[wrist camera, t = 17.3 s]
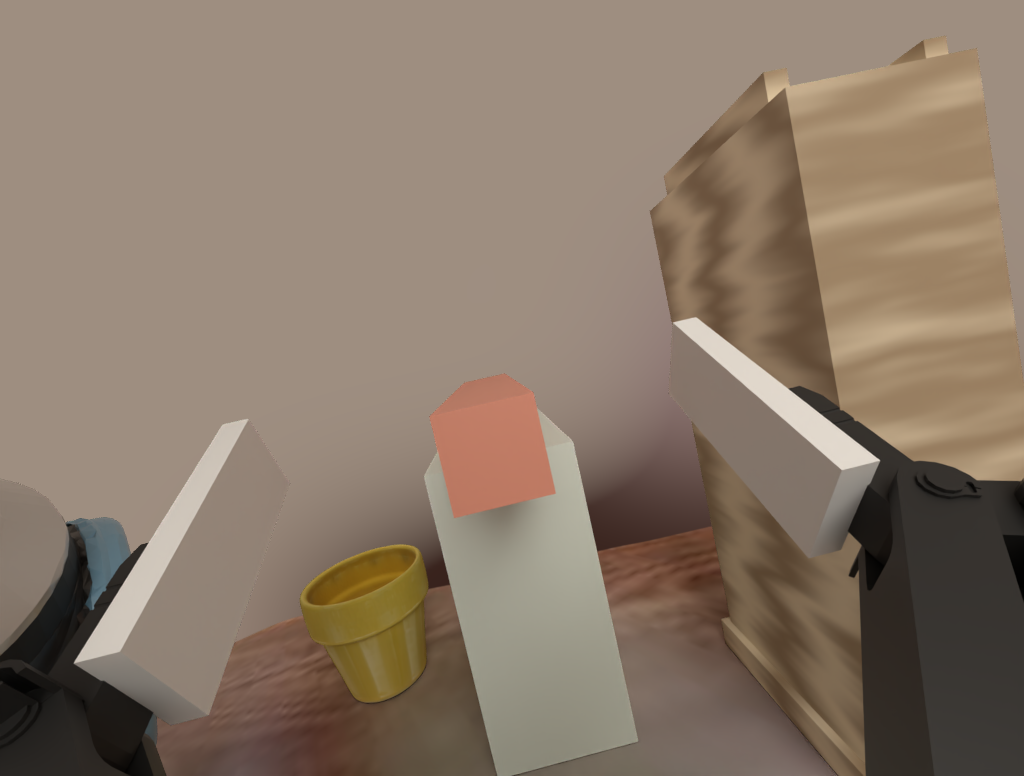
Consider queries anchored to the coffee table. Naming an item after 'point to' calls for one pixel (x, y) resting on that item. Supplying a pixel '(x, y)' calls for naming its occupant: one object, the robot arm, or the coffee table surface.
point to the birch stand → (845, 327)
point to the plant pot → (371, 619)
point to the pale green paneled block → (536, 620)
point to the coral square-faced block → (491, 446)
